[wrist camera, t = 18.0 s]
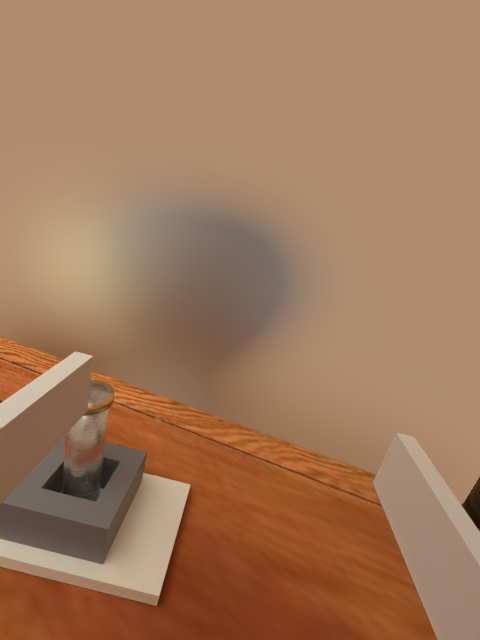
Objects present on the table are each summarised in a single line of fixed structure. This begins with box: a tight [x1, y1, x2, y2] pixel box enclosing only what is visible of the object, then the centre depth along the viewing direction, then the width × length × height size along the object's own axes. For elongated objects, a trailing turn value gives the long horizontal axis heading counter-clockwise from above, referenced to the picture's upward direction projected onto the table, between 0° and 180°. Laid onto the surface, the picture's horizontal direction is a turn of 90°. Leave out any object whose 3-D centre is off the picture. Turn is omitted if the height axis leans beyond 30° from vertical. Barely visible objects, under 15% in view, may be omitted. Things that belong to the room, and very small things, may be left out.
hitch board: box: [0, 436, 190, 606], centre depth 38 cm, size 18×14×6 cm
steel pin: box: [62, 380, 114, 502], centre depth 36 cm, size 5×5×16 cm
